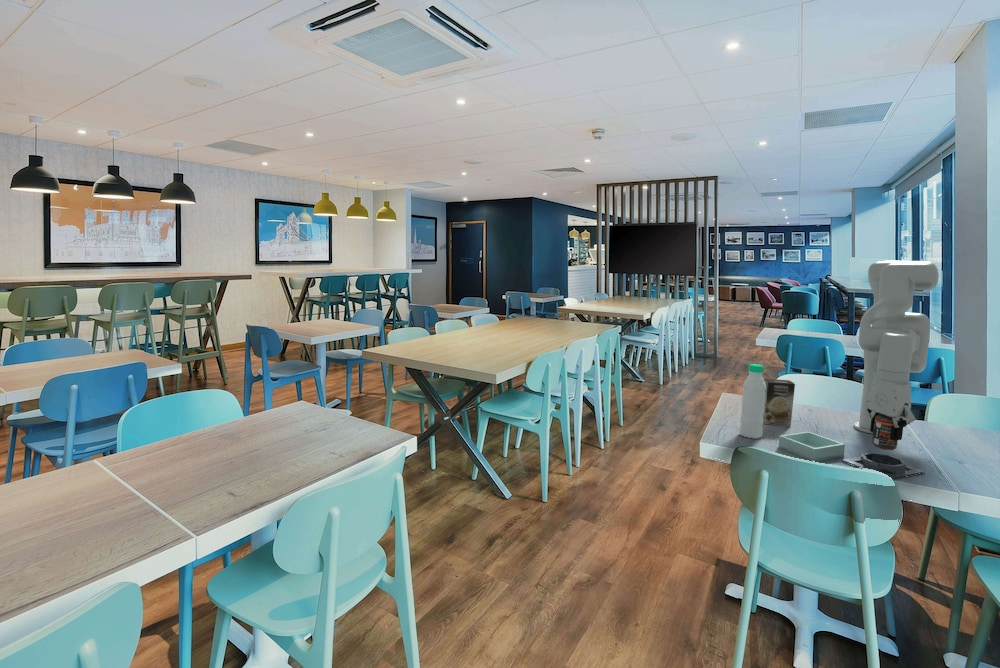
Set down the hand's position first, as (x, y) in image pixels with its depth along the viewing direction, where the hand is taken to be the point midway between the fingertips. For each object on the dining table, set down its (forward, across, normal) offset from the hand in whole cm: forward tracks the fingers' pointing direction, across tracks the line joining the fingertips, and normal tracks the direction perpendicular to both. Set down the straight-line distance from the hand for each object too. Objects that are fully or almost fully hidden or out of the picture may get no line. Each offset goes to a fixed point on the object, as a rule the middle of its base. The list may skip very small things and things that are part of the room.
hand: (885, 435), depth 151 cm
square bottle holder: (+10, +1, -1) cm, 10 cm away
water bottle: (+10, -30, -21) cm, 38 cm away
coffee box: (+11, -41, -3) cm, 43 cm away
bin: (+10, -13, -12) cm, 21 cm away
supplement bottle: (+4, 0, 0) cm, 4 cm away
